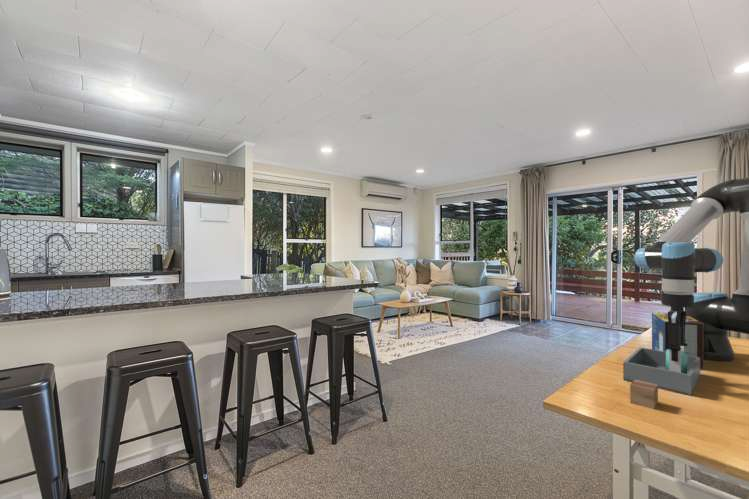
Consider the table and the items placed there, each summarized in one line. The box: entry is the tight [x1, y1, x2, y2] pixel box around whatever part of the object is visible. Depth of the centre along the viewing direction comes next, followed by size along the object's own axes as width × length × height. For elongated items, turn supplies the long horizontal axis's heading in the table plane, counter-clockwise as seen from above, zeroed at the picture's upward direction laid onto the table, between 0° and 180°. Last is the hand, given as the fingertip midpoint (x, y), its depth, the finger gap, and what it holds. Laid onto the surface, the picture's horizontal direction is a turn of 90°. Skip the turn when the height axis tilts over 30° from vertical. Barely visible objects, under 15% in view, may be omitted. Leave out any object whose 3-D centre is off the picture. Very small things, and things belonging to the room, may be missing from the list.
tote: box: [622, 347, 701, 397], centre depth 110 cm, size 22×16×6 cm
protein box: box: [651, 312, 704, 370], centre depth 125 cm, size 10×15×16 cm
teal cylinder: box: [666, 349, 688, 374], centre depth 107 cm, size 5×5×7 cm
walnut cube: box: [629, 380, 659, 410], centre depth 93 cm, size 5×5×5 cm
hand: (676, 368), depth 107 cm, fingers closed on teal cylinder, 5 cm apart
